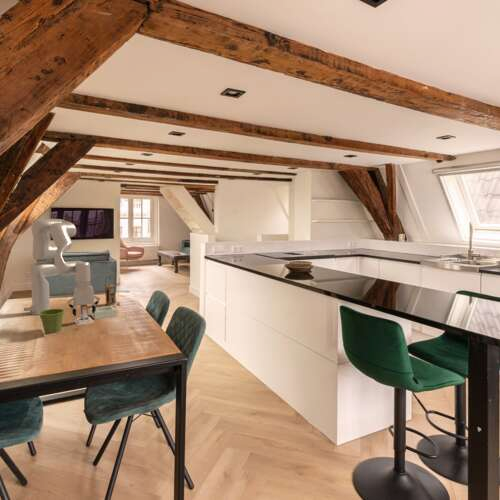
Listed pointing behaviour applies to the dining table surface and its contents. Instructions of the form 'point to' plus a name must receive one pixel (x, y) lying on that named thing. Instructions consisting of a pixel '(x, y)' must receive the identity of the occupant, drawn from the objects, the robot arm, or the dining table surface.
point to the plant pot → (52, 320)
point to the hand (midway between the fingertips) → (84, 314)
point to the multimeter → (110, 294)
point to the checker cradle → (83, 321)
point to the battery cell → (84, 312)
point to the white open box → (103, 312)
